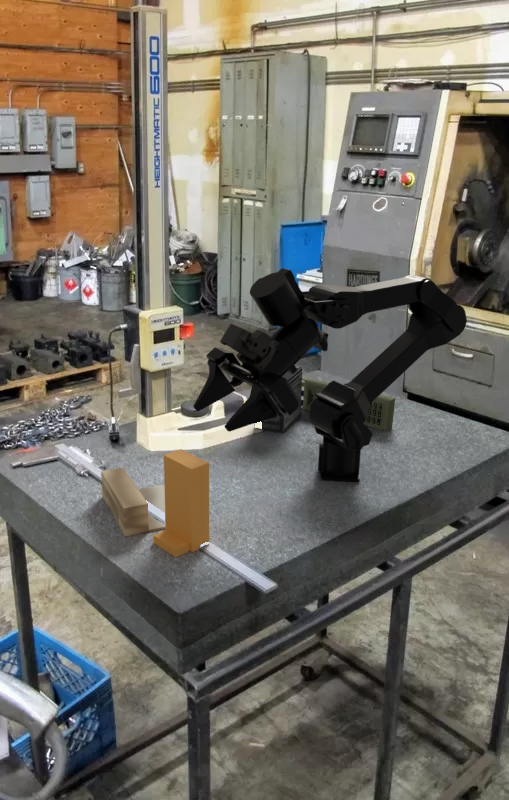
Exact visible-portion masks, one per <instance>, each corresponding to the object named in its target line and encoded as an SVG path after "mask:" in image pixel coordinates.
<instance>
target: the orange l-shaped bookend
mask: <svg viewBox="0 0 509 800" xmlns="http://www.w3.org/2000/svg"><path fill="white" fill-rule="evenodd" d="M163 472H164V473H163V474H164V475H163V476H164V479H163V480H164V482H163V483H164V486H165V526H166V528H165V529H164V530H163V531H160V532H157V533H156V534H153V544H154V545H156V546H157V547H159V548H161V549H162V550H164V551H165V552H167V553H168V554H170V555H172V556H173V557H174V558H177V557H180V556H181V555H183V554H186V553H188V552H192V553H194V552H196V551H198V550H200V549H199V548H200V545H201V544H203V543H205V542H209V543H210V462H208V461H206V460H204V459H202V458H200V457H198V456H196V455H194V454H192V453H190V452H187V451H185V450H184V449H178V450H175V451H172V452H169V453H166V454H163Z"/></svg>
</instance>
